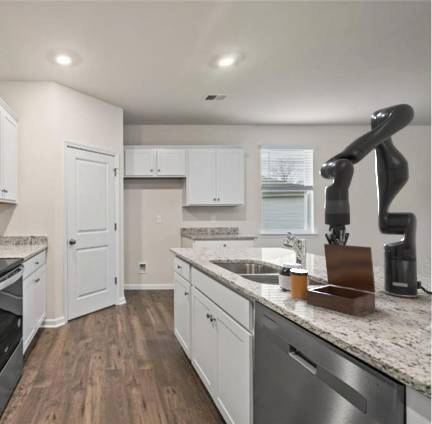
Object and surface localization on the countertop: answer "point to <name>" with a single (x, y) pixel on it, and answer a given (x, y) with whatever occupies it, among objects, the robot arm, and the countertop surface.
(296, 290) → the jar
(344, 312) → the chest
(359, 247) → the chest lid
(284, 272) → the spread jar
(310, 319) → the countertop surface
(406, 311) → the countertop surface
